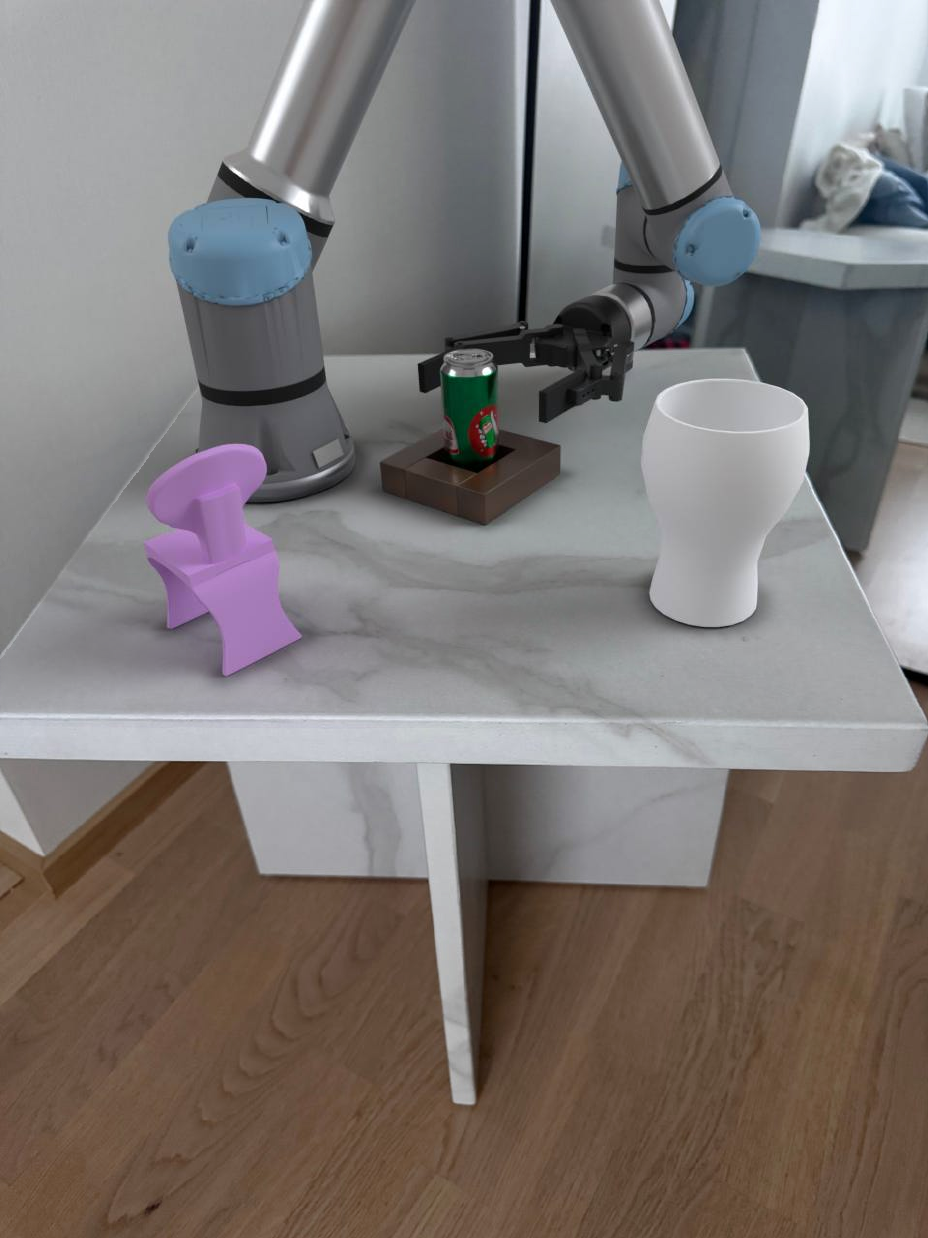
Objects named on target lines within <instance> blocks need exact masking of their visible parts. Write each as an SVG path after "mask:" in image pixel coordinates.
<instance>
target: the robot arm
mask: <svg viewBox="0 0 928 1238" xmlns="http://www.w3.org/2000/svg"><path fill="white" fill-rule="evenodd" d="M416 2H417V0H303V3H302V6H301V8H300V10H299V13H298V15H297V17H296V20H295V22H294V25H293V28H292V30H291V33H290V36H289V38H288V40H287V44H286V46H285V48H284V51H283V53H282V56H281V59H280V61H279V64H278V66H277V69H276V72H275V74H274V77H273V79H272V81H271V84H270V86H269V89H268V91H267V93H266V94H267V95H266V97H265V99H264V102H263V104H262V107H261V109H260V112H259V114H258V117H257V120H256V122H255V124H254V127H253V129H252V132H251V135H250V138H249V140H248V142H247V145H246V147H244V148H243V149H241V150H239V151H236V152H233V153H230V154H228V155H225V156H223V159H222V161H221V164H220V166H219V169H218V172H217V174H216V177H215V179H214V181H213V185H212V187H211V190H210V192H209V195H208V197H207V200H206V202H205V203H201V204H199V205H196V206H195V207H194V208H193V209H188V210H185V211H183V212H181V213H180V214H179V215H177V216H176V217H175V218H174V219H173V220H172V222H171V223H170V226H169V228H168V232H167V243H168V249H169V251H168V262H169V267H170V272H171V273H172V274H173V277H174V279H175V281H176V282H175V283H176V288H177V291H178V296H179V301H180V305H181V311H182V314H183V319H184V323H185V329H186V333H187V338H188V342H189V346H190V351H191V356H192V361H193V365H194V370H195V374H196V378H197V382H198V388H199V390H200V391H199V392H200V397H201V413H200V422H199V432H198V448H196V449H195V454H197V453H200V452H202V451H205V450H208V449H211V448H214V447H217V446H221V445H226V444H246V445H251V446H253V447H255V448H257V449H258V450H259V451H260V452H261V453H262V455H263V457H264V460H265V462H266V466H267V472H266V477H265V479H264V481H263V483H262V484H261V485H260V487H259V488H258V489H257V490H256V491H255V492H254V493H253V494H252V495H251V496H250V497H249V499H248V500H247V501H246V503H271V502H282V501H288V500H294V499H298V498H303V497H307V496H310V495H313V494H317V493H319V492H322V491H324V490H326V489H329V488H331V487H333V486H335V485H336V484H338V483H339V482H341V481H343V480H344V479H345V478H346V477H347V476H348V475H350V474H351V472H352V471H353V470H354V468H355V465H356V461H357V459H356V452H355V444H354V439H353V437H352V435H351V433H350V431H349V430H348V428H347V426H346V424H345V421H344V419H343V416H342V414H341V412H340V410H339V408H338V405H337V403H336V401H335V399H334V397H333V395H332V393H331V391H330V388H329V386H328V382H327V381H328V380H327V375H326V368H325V359H324V358H325V357H324V351H323V343H322V342H323V341H322V336H321V335H322V334H321V329H320V319H319V313H318V312H319V311H318V306H317V297H316V290H315V283H314V274H313V272H314V270H315V268H316V266H317V263H318V261H319V259H320V257H321V255H322V253H323V250H324V248H325V246H326V243H327V242H328V239H329V238H330V237H329V236H330V234H331V232H332V230H333V227H334V225H335V224H336V218H335V214H334V211H333V207H332V204H331V199H330V196H331V193H332V191H333V189H334V186H335V183H336V182H337V179H338V177H339V175H340V172H341V170H342V168H343V166H344V163H345V162H346V159H347V157H348V155H349V152H350V150H351V148H352V146H353V143H354V141H355V139H356V136H357V134H358V132H359V130H360V127H361V126H362V124H363V121H364V118H365V117H366V114H367V112H368V110H369V107H370V105H371V103H372V100H373V98H374V96H375V94H376V92H377V89H378V87H379V85H380V83H381V80H382V79H383V76H384V74H385V71H386V70H387V67H388V65H389V62H390V60H391V58H392V56H393V53H394V51H395V48H396V46H397V44H398V42H399V40H400V37H401V35H402V33H403V31H404V29H405V26H406V24H407V23H408V19H409V17H410V15H411V13H412V11H413V9H414V6H415V4H416ZM549 2H550V4H551V6H552V8H553V10H554V13H555V15H556V17H557V19H558V21H559V24H560V26H561V29H562V30H563V33H564V35H565V38H566V39H567V41H568V44H569V46H570V49H571V50H572V52H573V55H574V57H575V59H576V61H577V64H578V66H579V68H580V70H581V73H582V75H583V77H584V79H585V82H586V84H587V86H588V88H589V91H590V93H591V95H592V98H593V99H594V102H595V104H596V106H597V109H598V111H599V113H600V116H601V118H602V120H603V122H604V125H605V126H606V129H607V131H608V134H609V135H610V138H611V140H612V142H613V145H614V146H615V149H616V151H617V154H618V156H619V158H620V160H621V161H620V165H619V172H618V182H617V188H616V189H615V195H616V209H615V213H616V214H615V231H614V232H615V235H614V253H613V254H614V256H613V269H612V284H610V285H607V286H606V287H604V288H602V289H599V290H597V291H595V292H592V293H591V294H589V295H586V296H584V297H582V298H580V299H577V300H575V301H574V302H571V303H569V304H567V305H566V306H564V307H563V308H562V309H561V310H560V311H559V313H558V314H557V316H556V318H555V319H554V321H553V323H552V324H547V325H545V326H544V327H539V328H530V329H529V322H528V321H525V320H521V321H518V322H515V323H512V324H510V325H505V326H501V327H495V328H489V329H485V330H479V331H474V332H468V333H463V334H458V335H452V336H447V337H445V338H443V339H444V341H443V342H444V343H443V344H444V351H443V352H441V353H439V354H437V355H434V356H432V357H430V358H427V359H425V360H423V361H421V362H418V363H417V374H418V375H417V376H418V388H419V389H418V390H419V392H420V393H423V394H428V393H429V392H432V391H433V390H436V389H438V388H441V382H440V368H441V366H442V365H443V363H444V360H443V358H444V356H445V355H446V354H447V353H449V352H452V351H455V350H460V349H481V350H486V351H489V352H491V353H492V354H493V360H494V362H495V363H496V365H497V366H505V365H514V364H516V365H517V364H522V366H523V367H525V368H532V367H542V366H548V367H550V368H553V367H558V368H563V369H568V370H569V371H570V372H572V373H570V374H568V375H566V376H565V377H563V378H561V379H559V380H557V381H556V382H553V383H551V384H550V385H548V386H546V387H544V388H543V389H540V390H539V391H538V422H539V423H541V424H542V423H543V424H548V423H549V422H551V421H552V420H554V419H556V418H557V417H559V416H561V415H563V414H564V413H566V412H568V411H570V410H571V409H573V408H574V407H578V406H582V405H584V404H585V403H587V402H588V401H590V400H593V401H596V400H600V399H602V396H608V400H609V401H611V402H616V403H619V402H620V401H622V400H623V394H624V388H625V381H626V374H627V373H628V372H629V371H630V370H632V369H633V368H634V367H633V366H634V357H635V356H634V355H635V353H636V352H637V351H640V350H642V349H644V348H645V347H647V346H649V345H651V344H653V343H655V342H657V341H658V340H661V339H663V338H665V337H668V335H671V333H673V332H675V330H677V328H678V327H679V326H681V325H682V324H683V323H684V322H685V321H687V319H688V317H689V316H690V314H691V312H692V310H693V307H694V303H695V291H694V288H693V284H692V283H696V284H699V285H700V286H704V287H710V288H718V287H722V286H725V285H729V284H731V283H732V282H734V281H736V280H737V279H738V278H740V277H741V276H743V274H745V273H746V271H747V270H749V268H750V267H751V265H752V264H753V263H754V260H755V259H756V257H757V255H758V253H759V252H758V251H759V249H760V245H761V241H762V240H761V238H762V228H761V224H760V220H759V218H758V216H757V214H756V212H754V210H753V209H752V208H751V207H750V205H747V204H746V202H745V201H744V200H743V199H741V198H739V197H737V196H734V195H733V192H732V189H731V186H730V184H729V182H728V181H729V180H728V179H727V176H726V173H725V171H724V169H723V167H722V164H721V161H720V160H719V157H718V154H717V152H716V149H715V147H714V143H713V141H712V138H711V135H710V133H709V130H708V127H707V123H706V122H705V119H704V117H703V114H702V112H701V111H702V110H701V108H700V105H699V103H698V101H697V98H696V95H695V93H694V89H693V87H692V84H691V81H690V79H689V75H688V73H687V70H686V68H685V64H684V62H683V60H682V57H681V55H680V52H679V49H678V47H677V44H676V41H675V38H674V36H673V33H672V30H671V28H670V24H669V22H668V19H667V16H666V14H665V12H664V8H663V6H662V3H661V0H549ZM531 345H533V349H534V356H535V357H531ZM608 368H610V372H609V375H605V374H603V371H606V370H607V369H608Z"/></svg>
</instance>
